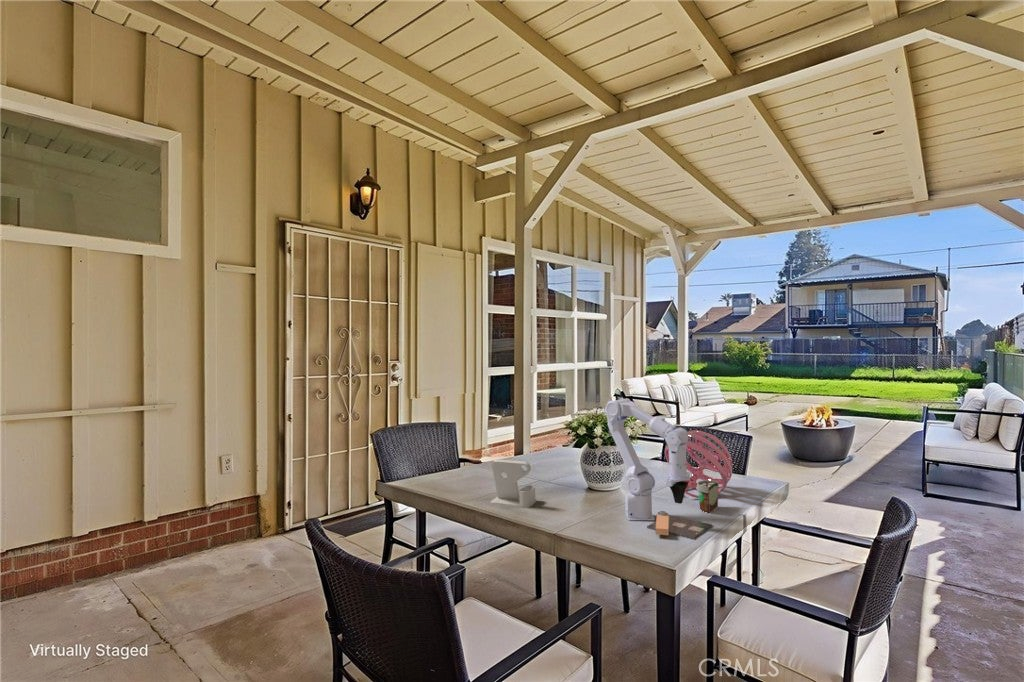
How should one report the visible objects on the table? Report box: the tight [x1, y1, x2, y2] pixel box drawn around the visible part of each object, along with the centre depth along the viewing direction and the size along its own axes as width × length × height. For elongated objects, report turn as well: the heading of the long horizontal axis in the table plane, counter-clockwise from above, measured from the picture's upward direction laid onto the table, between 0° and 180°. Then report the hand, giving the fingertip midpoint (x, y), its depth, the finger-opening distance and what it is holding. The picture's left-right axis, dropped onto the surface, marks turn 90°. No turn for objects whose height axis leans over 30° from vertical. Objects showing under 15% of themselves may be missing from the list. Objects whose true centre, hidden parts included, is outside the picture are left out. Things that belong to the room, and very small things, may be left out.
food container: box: [695, 480, 720, 514], centre depth 197 cm, size 12×6×10 cm, turn 141°
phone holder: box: [490, 459, 537, 509], centre depth 210 cm, size 17×10×18 cm, turn 67°
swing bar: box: [655, 510, 670, 536], centre depth 176 cm, size 17×4×3 cm, turn 163°
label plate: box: [646, 514, 713, 540], centre depth 178 cm, size 16×17×1 cm
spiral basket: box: [664, 430, 733, 499], centre depth 216 cm, size 28×28×27 cm
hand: (678, 502), depth 178 cm, fingers closed
